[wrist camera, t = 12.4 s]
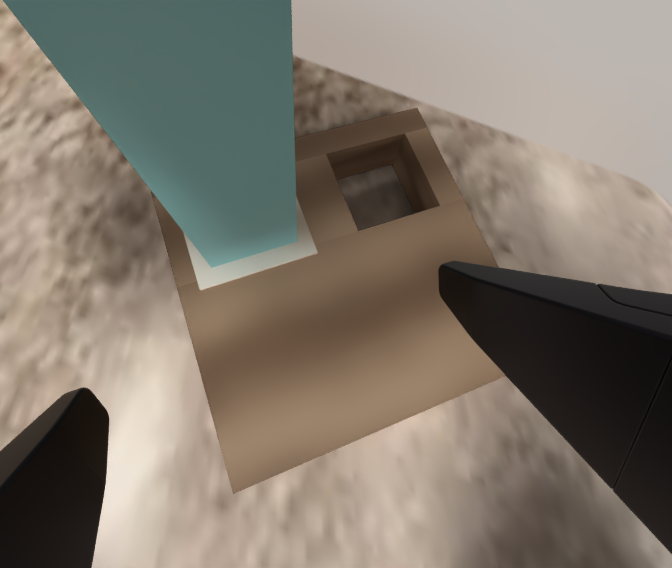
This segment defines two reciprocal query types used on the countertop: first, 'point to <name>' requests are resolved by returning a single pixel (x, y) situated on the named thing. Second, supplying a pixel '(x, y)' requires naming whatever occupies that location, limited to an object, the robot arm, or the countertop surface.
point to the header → (334, 307)
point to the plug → (189, 106)
